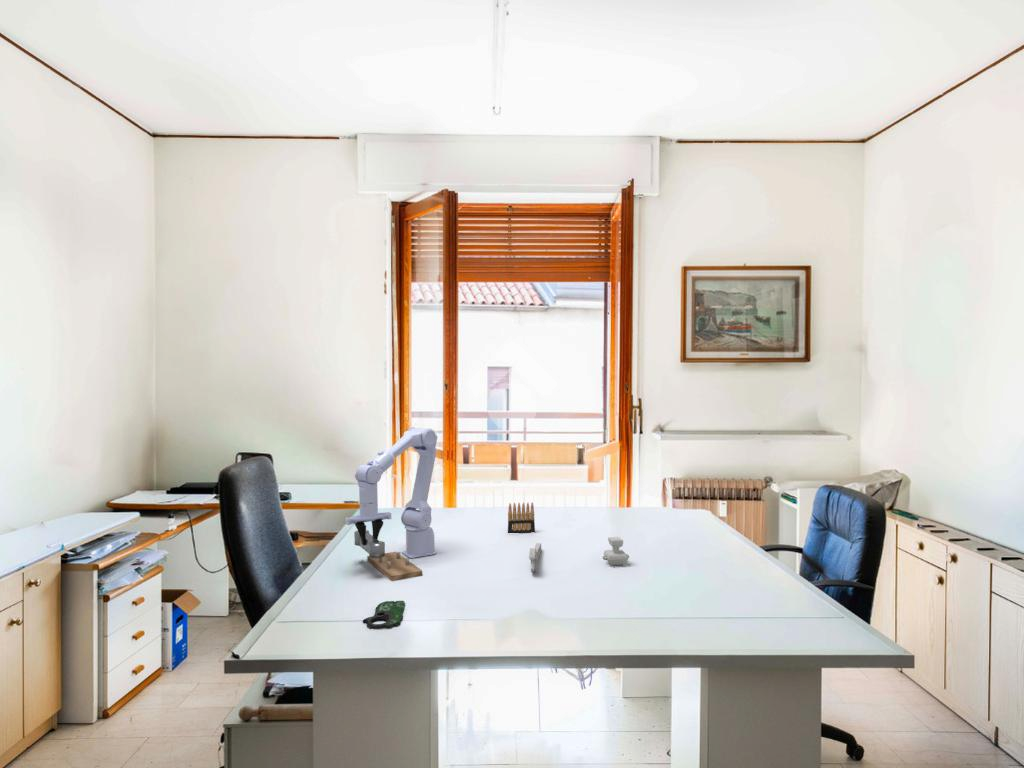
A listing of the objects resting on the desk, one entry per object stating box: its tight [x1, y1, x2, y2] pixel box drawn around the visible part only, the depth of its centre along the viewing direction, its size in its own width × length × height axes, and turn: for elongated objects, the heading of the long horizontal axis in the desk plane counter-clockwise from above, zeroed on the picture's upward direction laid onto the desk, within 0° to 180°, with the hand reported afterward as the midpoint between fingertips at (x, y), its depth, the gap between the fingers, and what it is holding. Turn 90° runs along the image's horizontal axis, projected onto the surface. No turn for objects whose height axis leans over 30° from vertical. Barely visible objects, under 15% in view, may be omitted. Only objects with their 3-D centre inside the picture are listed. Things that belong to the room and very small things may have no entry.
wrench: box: [529, 542, 542, 573], centre depth 209 cm, size 8×2×30 cm
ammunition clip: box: [507, 502, 536, 534], centre depth 247 cm, size 11×2×12 cm, turn 97°
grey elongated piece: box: [353, 529, 386, 558], centre depth 203 cm, size 5×21×4 cm, turn 30°
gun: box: [362, 600, 406, 630], centre depth 165 cm, size 16×2×10 cm
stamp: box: [602, 536, 630, 566], centre depth 207 cm, size 9×7×8 cm
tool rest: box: [366, 551, 423, 582], centre depth 205 cm, size 10×24×4 cm, turn 31°
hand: (369, 543), depth 203 cm, fingers closed on grey elongated piece, 3 cm apart
